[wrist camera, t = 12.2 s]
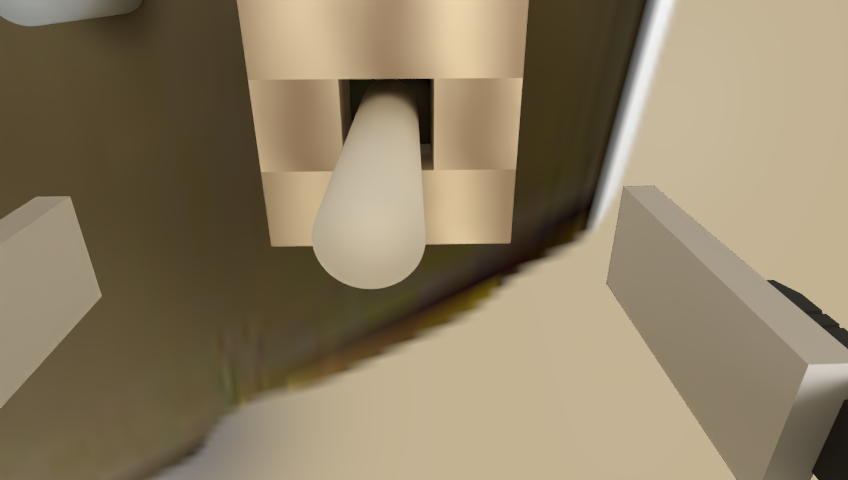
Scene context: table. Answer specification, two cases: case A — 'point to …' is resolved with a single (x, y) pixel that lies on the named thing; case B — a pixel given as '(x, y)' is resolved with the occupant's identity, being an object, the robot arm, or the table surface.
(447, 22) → the block
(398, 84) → the long pin
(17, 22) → the short pin
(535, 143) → the table surface
